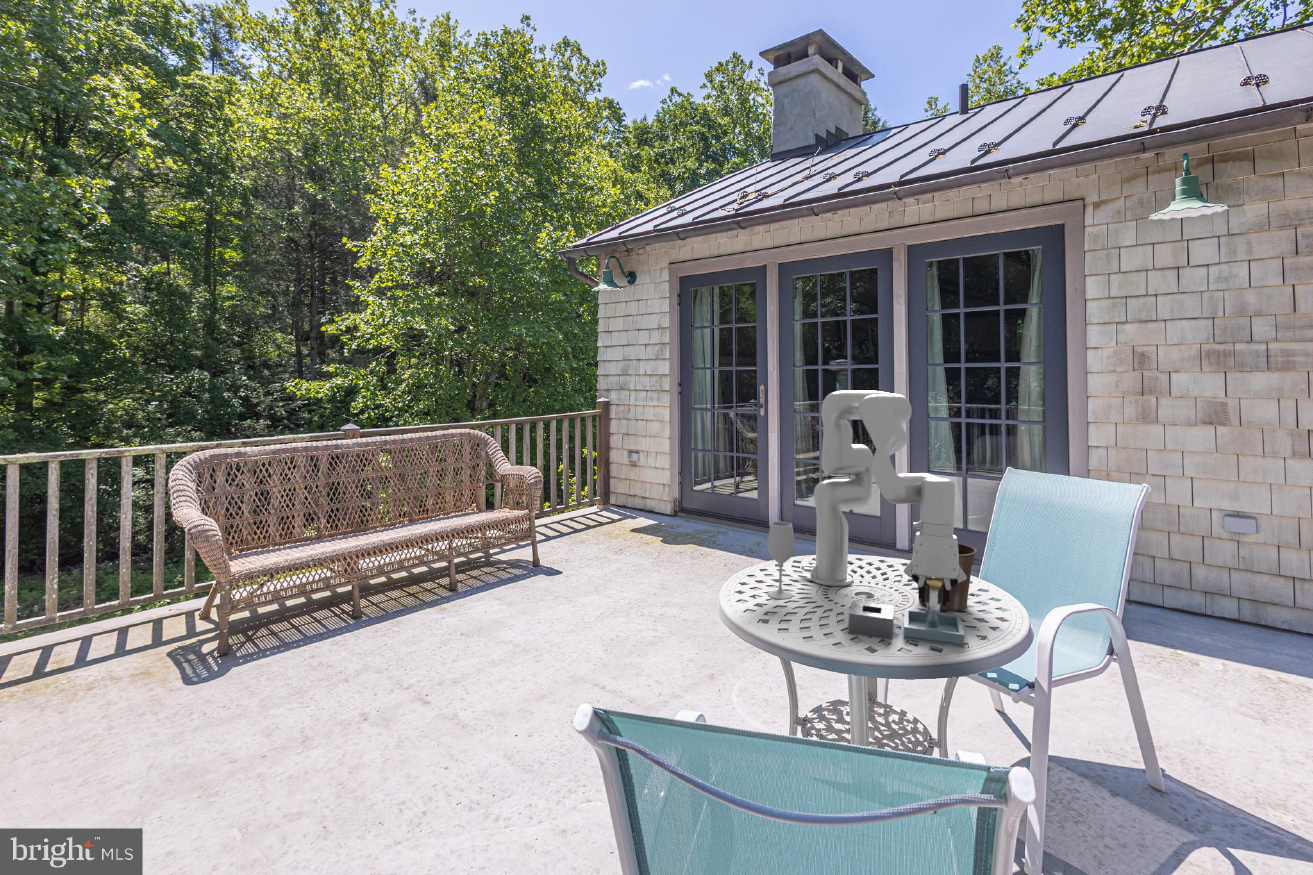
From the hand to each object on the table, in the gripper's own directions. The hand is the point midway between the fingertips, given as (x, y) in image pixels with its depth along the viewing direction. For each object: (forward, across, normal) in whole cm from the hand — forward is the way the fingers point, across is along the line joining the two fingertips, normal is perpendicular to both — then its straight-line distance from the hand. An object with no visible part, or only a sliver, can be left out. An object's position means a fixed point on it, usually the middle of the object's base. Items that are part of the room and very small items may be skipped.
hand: (933, 602), depth 152 cm
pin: (+6, 0, 0) cm, 6 cm away
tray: (+8, 0, 0) cm, 8 cm away
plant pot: (+8, +3, +24) cm, 25 cm away
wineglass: (+8, -40, +14) cm, 43 cm away
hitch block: (+8, -14, -3) cm, 16 cm away
